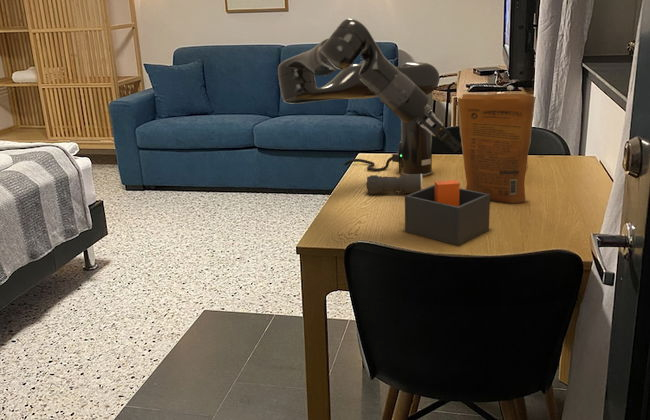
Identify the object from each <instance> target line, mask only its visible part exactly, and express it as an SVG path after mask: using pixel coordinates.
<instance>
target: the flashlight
mask: <svg viewBox="0 0 650 420" xmlns="http://www.w3.org/2000/svg"><path fill="white" fill-rule="evenodd" d="M365 187H366V190H367V191H366V192H367V194H370V195H378V194H382V193H386V194H387V193H397V192H399V193H400V194H412V193H414V192H417V191H420V190H422V189H423V176H422V174H410V175H402V174H401V175H399V176H382V175H379V176H378V175H377V174H374V175H369V176H367V177H366V184H365Z"/></svg>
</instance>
